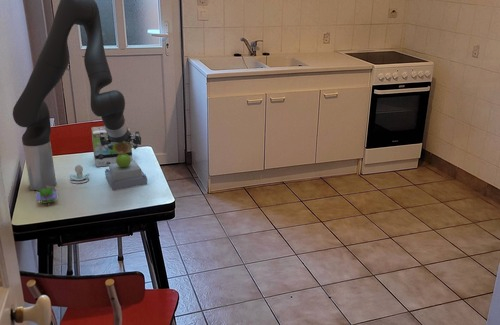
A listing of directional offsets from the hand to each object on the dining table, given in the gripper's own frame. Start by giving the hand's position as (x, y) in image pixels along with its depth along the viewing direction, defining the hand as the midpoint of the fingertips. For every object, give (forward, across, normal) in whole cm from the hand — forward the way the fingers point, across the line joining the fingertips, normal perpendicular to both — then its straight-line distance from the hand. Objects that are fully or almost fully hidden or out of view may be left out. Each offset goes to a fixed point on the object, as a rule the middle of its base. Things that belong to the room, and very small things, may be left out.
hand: (123, 147), depth 184 cm
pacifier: (+10, +18, +9) cm, 22 cm away
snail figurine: (+4, 0, +6) cm, 8 cm away
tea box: (+24, +8, -5) cm, 26 cm away
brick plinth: (+9, 0, +10) cm, 13 cm away
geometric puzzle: (-3, +25, +23) cm, 34 cm away
